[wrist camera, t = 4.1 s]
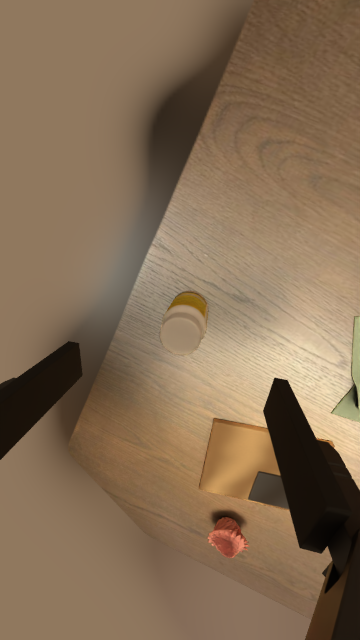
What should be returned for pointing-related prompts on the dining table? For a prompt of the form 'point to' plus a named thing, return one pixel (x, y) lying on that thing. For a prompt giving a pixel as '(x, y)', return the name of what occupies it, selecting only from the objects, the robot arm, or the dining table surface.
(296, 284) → the dining table surface
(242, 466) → the board
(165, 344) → the supplement bottle
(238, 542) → the pink ruffled round piece
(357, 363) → the cloth
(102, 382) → the dining table surface
